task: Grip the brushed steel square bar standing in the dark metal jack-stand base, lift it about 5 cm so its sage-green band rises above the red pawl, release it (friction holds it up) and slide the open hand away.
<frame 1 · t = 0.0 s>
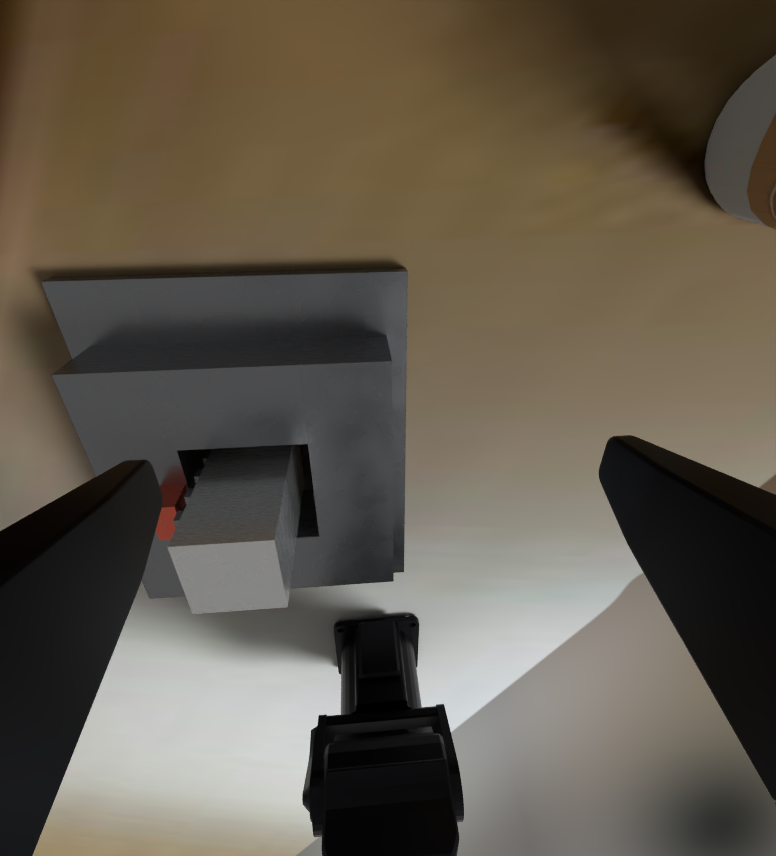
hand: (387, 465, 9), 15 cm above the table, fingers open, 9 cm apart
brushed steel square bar: (246, 505, 22), point 5 cm above the table, slide at 0.0 cm
coffee cup: (768, 138, 20), on the table
stand base: (265, 451, 26), on the table
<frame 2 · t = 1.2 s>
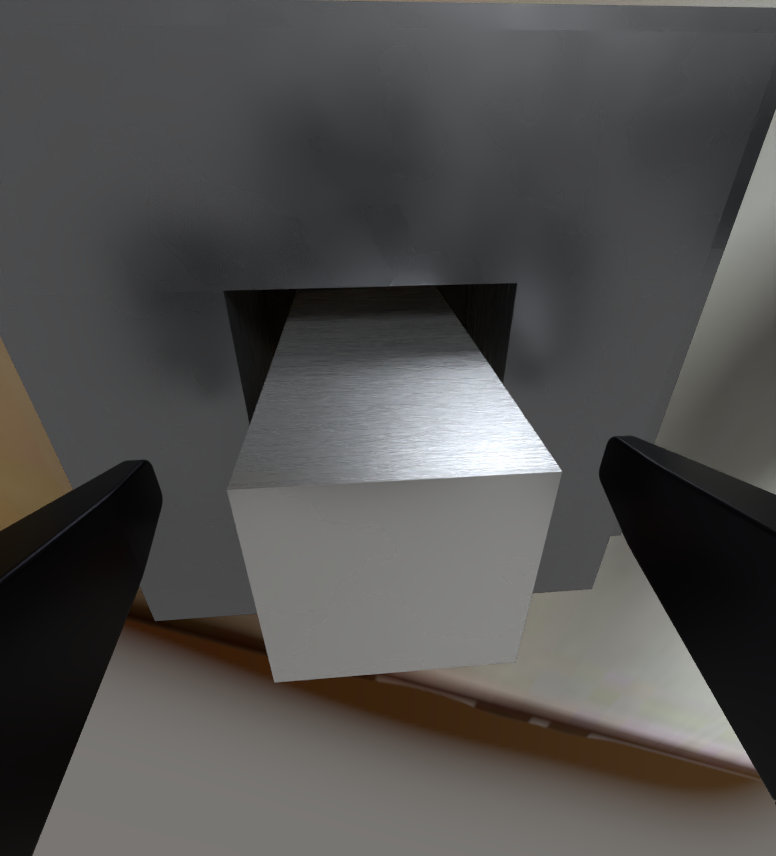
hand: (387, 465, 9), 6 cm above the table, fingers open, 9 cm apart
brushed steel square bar: (378, 436, 10), point 5 cm above the table, slide at 0.0 cm
stand base: (368, 351, 14), on the table
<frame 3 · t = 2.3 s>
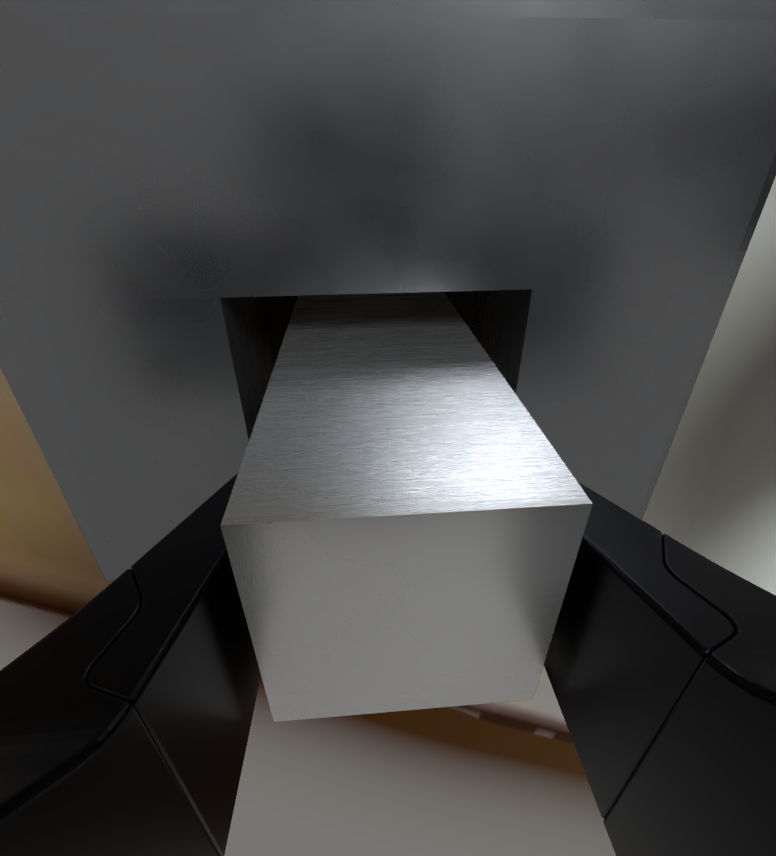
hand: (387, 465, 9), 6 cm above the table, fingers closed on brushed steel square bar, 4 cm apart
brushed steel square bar: (383, 450, 10), point 5 cm above the table, slide at 0.0 cm, touching gripper
stand base: (372, 358, 14), on the table
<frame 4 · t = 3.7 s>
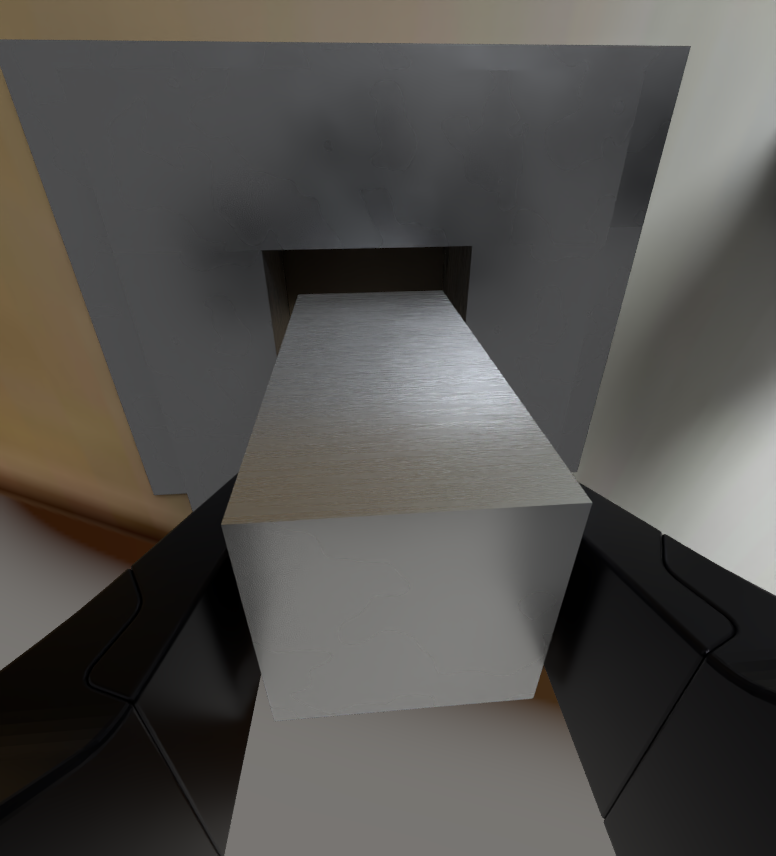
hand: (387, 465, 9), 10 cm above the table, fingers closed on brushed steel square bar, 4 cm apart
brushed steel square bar: (383, 450, 10), point 9 cm above the table, slide at 4.9 cm, touching gripper
stand base: (366, 310, 18), on the table
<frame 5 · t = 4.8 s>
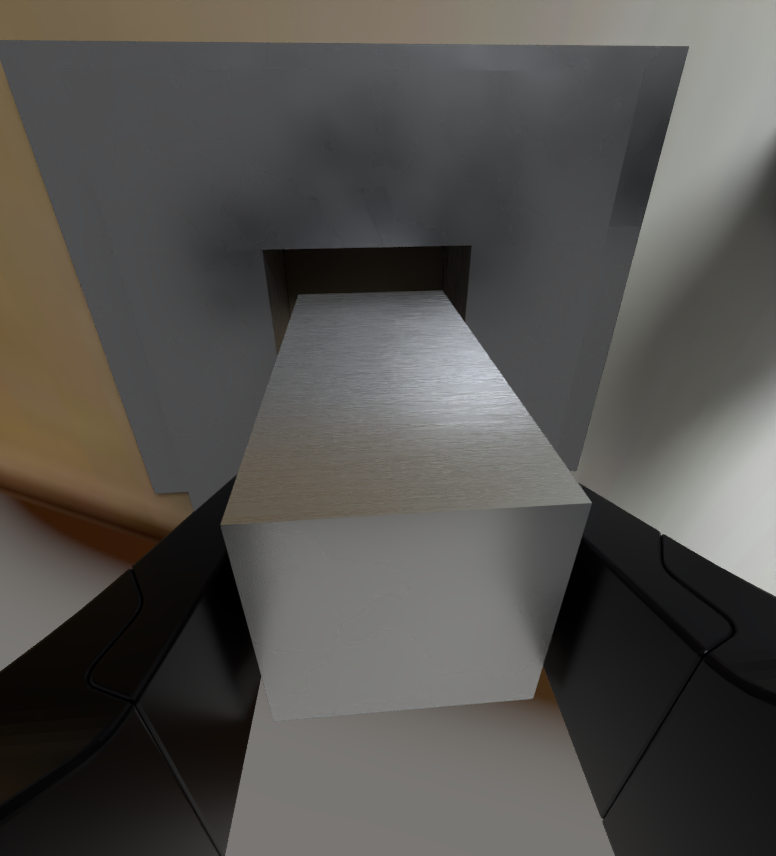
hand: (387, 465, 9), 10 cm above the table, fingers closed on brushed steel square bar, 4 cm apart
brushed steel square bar: (383, 450, 10), point 10 cm above the table, slide at 5.0 cm, touching gripper
stand base: (366, 309, 18), on the table
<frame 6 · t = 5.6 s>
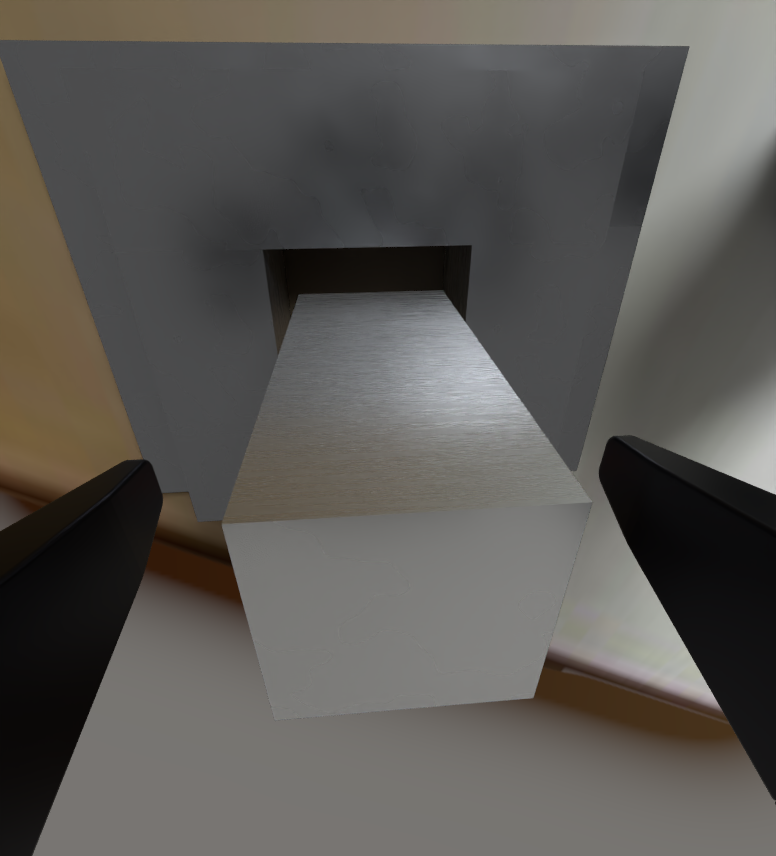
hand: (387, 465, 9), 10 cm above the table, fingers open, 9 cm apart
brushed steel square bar: (384, 450, 10), point 10 cm above the table, slide at 5.0 cm
stand base: (366, 309, 18), on the table
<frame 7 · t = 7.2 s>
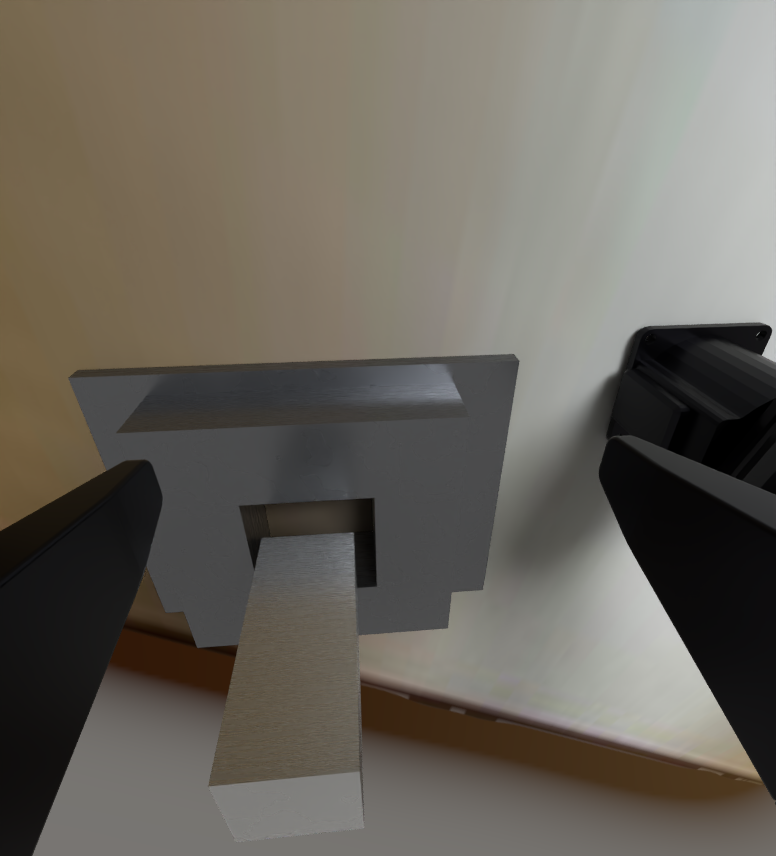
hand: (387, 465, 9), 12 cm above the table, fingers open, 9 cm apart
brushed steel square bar: (305, 664, 17), point 10 cm above the table, slide at 5.0 cm
stand base: (317, 495, 25), on the table
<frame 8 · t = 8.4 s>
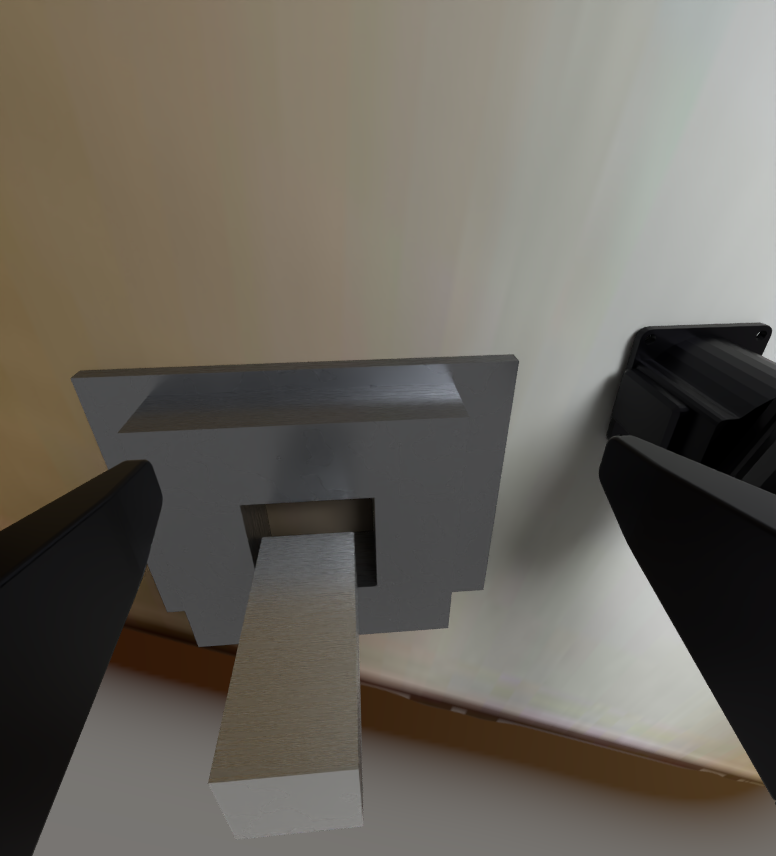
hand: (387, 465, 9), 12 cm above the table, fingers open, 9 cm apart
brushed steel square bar: (305, 663, 17), point 10 cm above the table, slide at 5.0 cm
stand base: (318, 495, 25), on the table
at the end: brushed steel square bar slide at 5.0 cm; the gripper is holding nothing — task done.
